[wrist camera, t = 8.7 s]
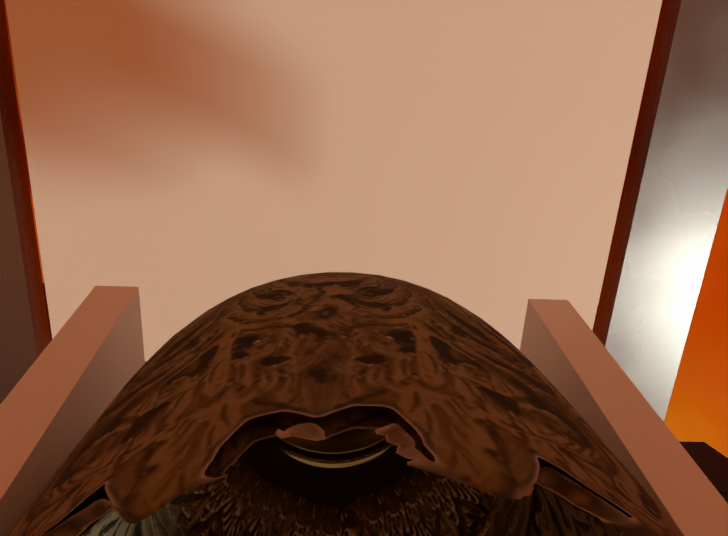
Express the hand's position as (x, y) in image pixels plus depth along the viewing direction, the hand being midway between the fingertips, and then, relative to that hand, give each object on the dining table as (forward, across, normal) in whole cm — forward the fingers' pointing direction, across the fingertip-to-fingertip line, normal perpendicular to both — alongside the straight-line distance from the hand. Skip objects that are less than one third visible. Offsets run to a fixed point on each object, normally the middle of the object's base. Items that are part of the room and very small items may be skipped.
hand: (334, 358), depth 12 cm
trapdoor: (+8, 0, -4) cm, 9 cm away
